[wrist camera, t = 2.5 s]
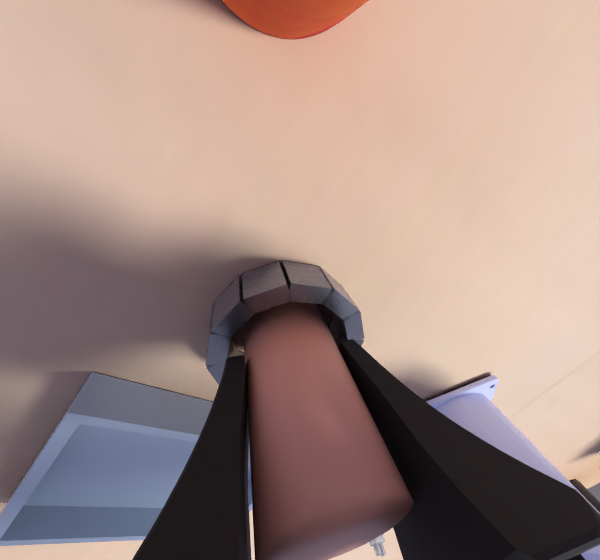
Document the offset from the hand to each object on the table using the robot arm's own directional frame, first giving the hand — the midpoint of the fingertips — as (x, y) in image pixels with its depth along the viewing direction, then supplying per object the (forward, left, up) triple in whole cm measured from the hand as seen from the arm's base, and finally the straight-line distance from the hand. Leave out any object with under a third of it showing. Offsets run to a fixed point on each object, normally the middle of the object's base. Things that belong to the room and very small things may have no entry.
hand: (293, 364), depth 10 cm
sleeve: (0, 0, -3) cm, 3 cm away
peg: (0, 0, -3) cm, 3 cm away
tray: (-8, +10, -3) cm, 13 cm away
